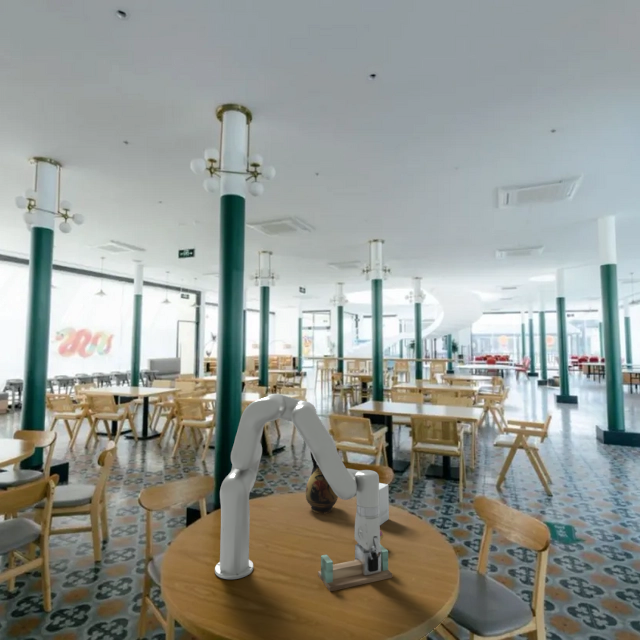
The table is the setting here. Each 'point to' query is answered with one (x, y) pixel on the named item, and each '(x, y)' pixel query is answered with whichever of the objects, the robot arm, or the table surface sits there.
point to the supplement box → (383, 503)
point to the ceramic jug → (319, 491)
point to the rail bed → (356, 580)
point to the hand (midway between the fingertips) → (367, 564)
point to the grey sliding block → (366, 559)
